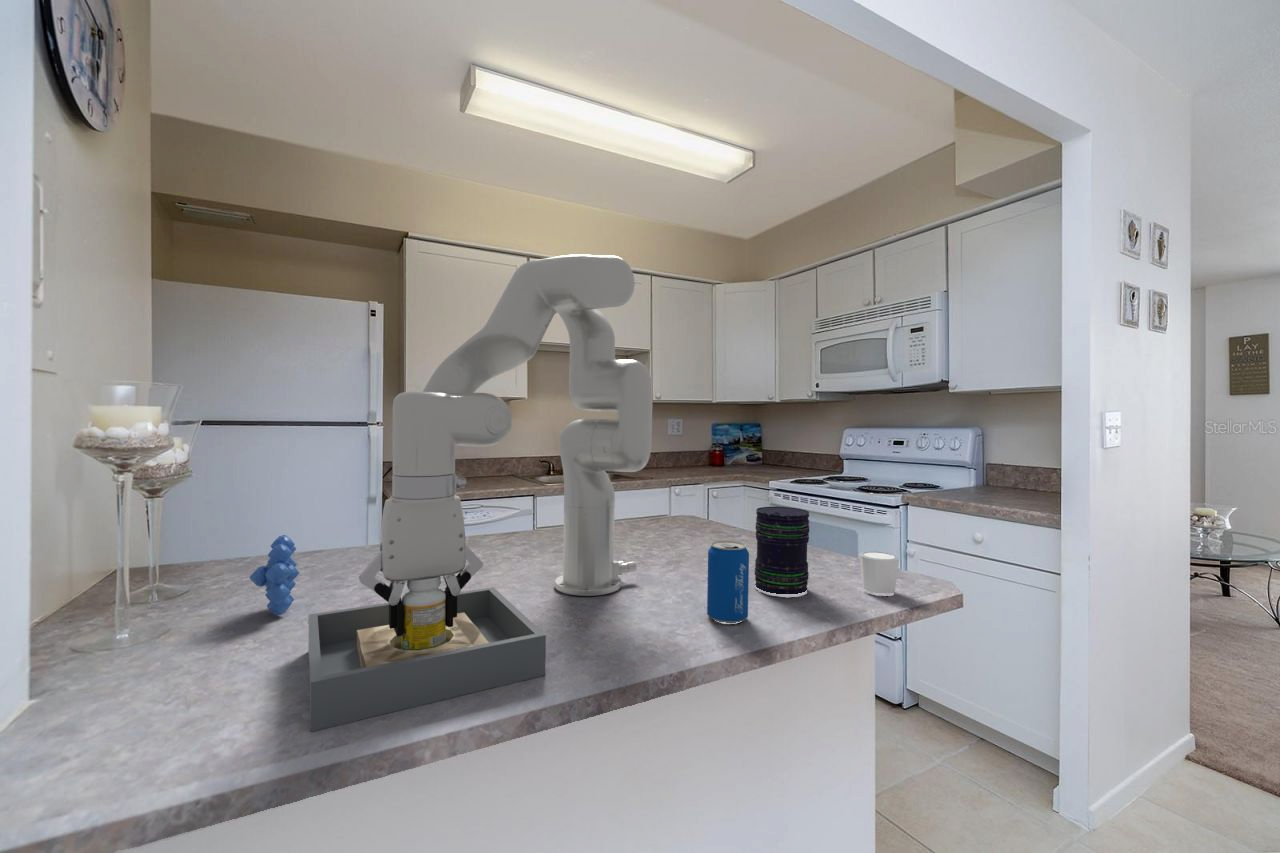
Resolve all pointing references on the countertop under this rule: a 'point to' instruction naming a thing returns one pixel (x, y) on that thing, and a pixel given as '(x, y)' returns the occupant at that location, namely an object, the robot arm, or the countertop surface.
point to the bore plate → (386, 648)
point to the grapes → (278, 575)
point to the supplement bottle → (424, 614)
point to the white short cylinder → (878, 571)
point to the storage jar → (782, 550)
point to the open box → (416, 661)
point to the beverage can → (728, 581)
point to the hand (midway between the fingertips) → (423, 626)
